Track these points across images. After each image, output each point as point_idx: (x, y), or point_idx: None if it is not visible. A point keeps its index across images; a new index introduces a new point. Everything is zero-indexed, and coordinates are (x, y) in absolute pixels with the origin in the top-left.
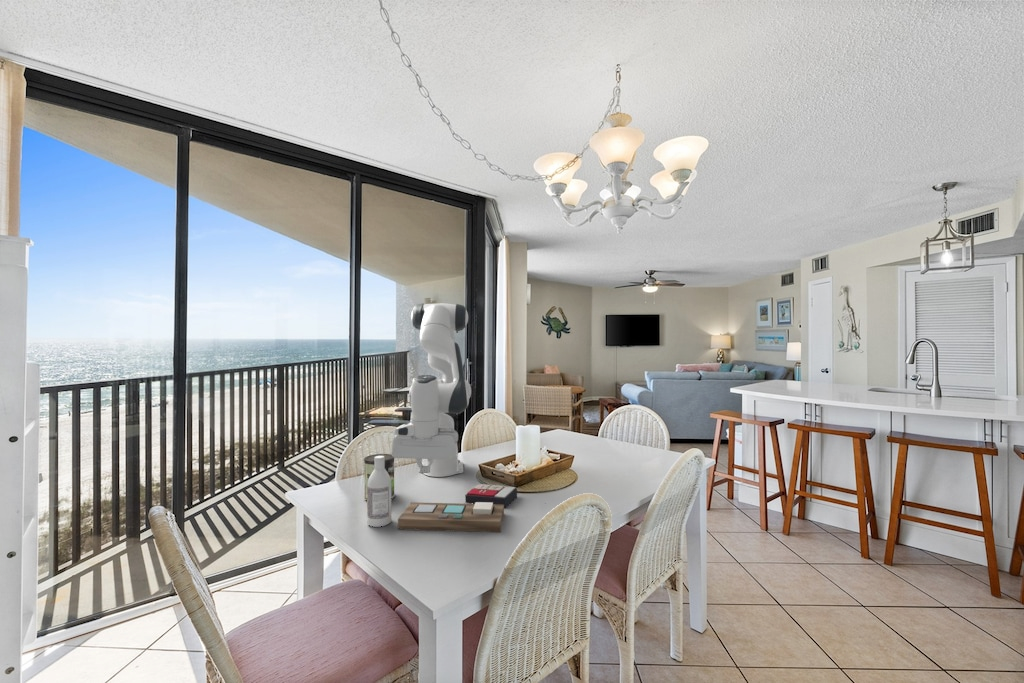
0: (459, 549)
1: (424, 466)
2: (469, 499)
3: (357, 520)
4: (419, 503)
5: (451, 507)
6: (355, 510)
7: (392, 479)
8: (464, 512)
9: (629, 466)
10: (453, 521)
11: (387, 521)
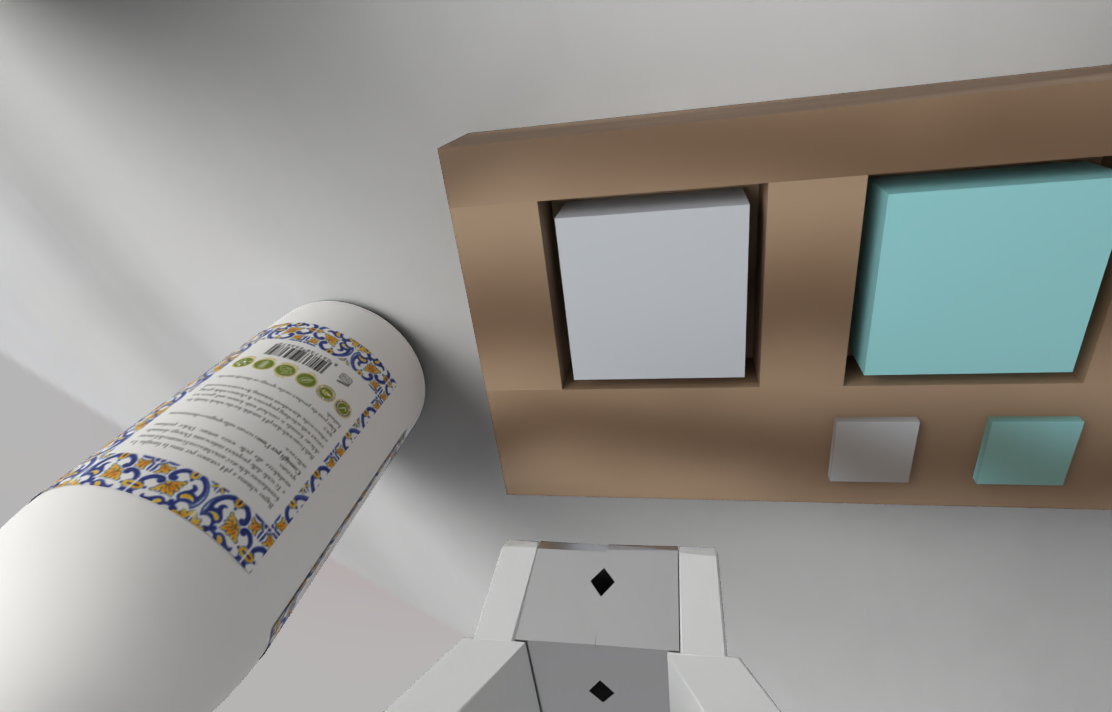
0: (994, 649)
1: (580, 674)
2: None
3: (192, 347)
4: (539, 166)
5: (949, 252)
6: (33, 180)
7: None
8: (1109, 346)
9: None
10: (974, 500)
11: (416, 417)
